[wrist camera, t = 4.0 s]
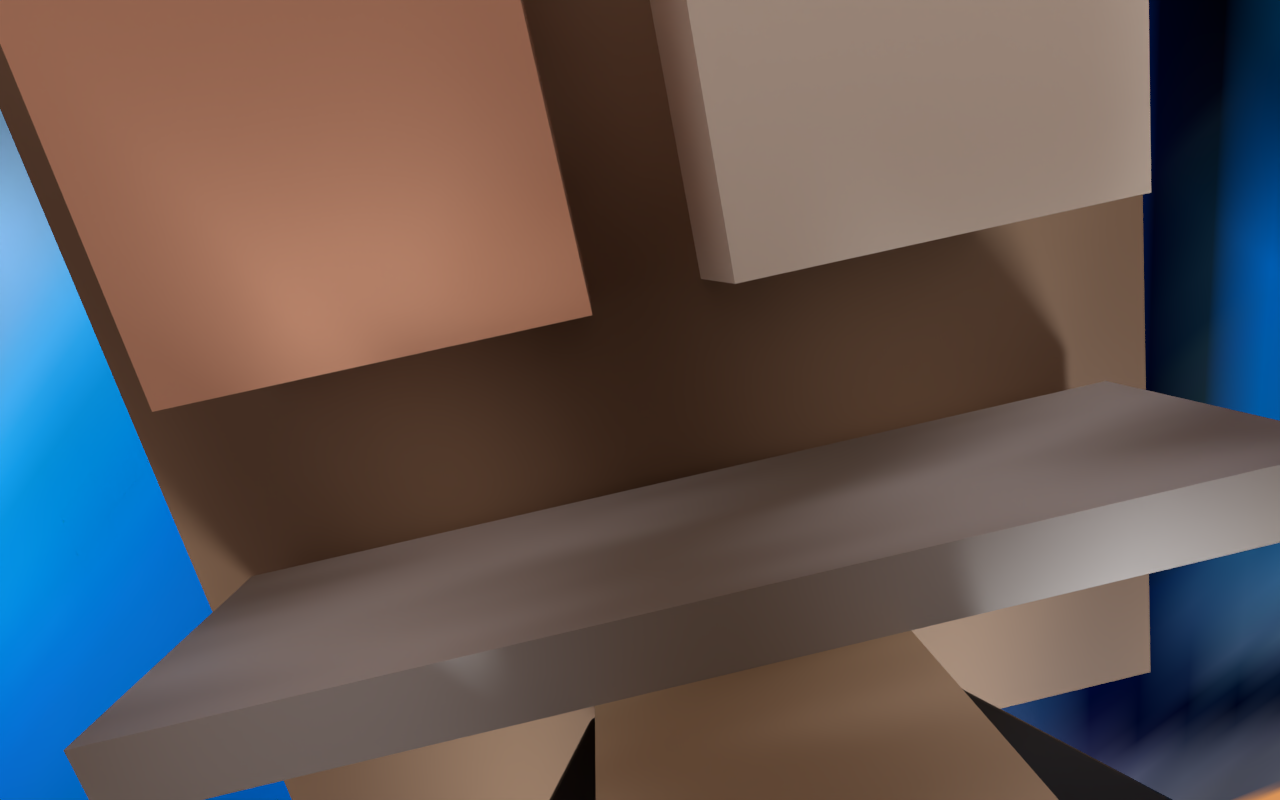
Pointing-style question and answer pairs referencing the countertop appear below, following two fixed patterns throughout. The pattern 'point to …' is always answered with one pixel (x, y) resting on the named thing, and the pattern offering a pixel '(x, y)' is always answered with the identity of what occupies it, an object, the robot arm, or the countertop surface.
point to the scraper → (709, 613)
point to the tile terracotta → (300, 179)
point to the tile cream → (896, 120)
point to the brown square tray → (645, 395)
